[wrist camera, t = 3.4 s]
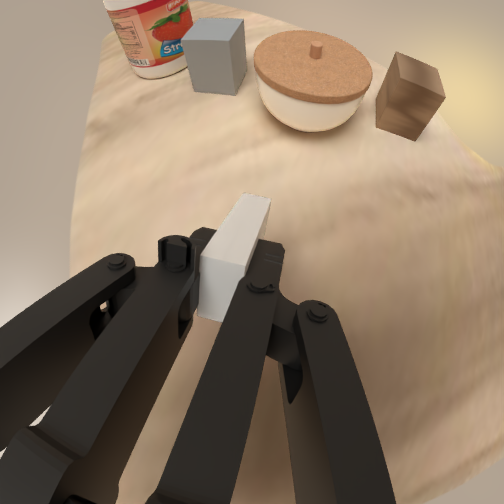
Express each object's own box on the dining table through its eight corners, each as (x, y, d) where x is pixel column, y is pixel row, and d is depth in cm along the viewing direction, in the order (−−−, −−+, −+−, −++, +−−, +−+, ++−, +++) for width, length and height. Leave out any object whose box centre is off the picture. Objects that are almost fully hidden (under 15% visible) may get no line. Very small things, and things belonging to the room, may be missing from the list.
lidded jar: (258, 78, 29) (256, 14, 20) (346, 86, 29) (363, 26, 20) (252, 147, 27) (248, 75, 17) (359, 155, 26) (390, 92, 17)
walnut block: (411, 112, 28) (437, 69, 20) (414, 141, 27) (445, 97, 19) (375, 99, 28) (395, 51, 20) (375, 127, 27) (400, 77, 19)
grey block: (247, 70, 30) (243, 19, 22) (235, 96, 29) (228, 40, 21) (208, 67, 30) (199, 18, 22) (194, 91, 29) (180, 40, 21)
